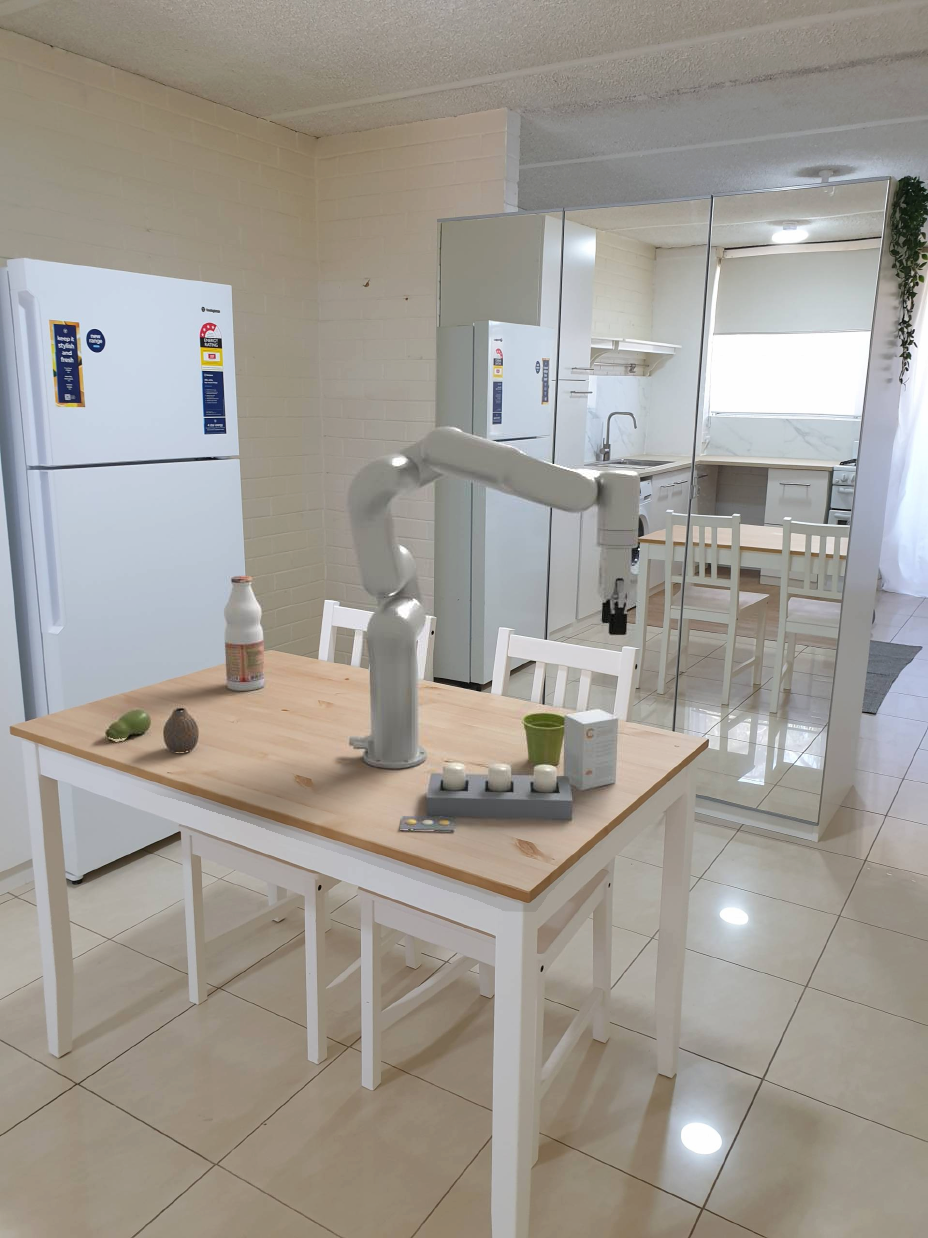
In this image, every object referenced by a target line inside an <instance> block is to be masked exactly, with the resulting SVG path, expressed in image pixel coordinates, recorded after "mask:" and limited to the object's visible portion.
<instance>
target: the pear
mask: <svg viewBox="0 0 928 1238" xmlns="http://www.w3.org/2000/svg"><path fill="white" fill-rule="evenodd" d="M151 725H152V721H151V717H150V715H149V714H148V712H146V711H145V710H143V709H140V708H139V709H138V708H137V709H132V710H130V711H128V712H126V713H124V714H123V715H122V716H120V718H119V719H118V720H117V721H114V722H112V723H111V724H110V725H109V726H108V728H107V729H106V730H105V732H104V733H105V737H107V738H108V737H110V738H113V739H119V738H120V739H122V738H126V737H128V738H129V736H130V735H140V734H139V733H142V734H144V733H143V732H145V731H146V732H147V731H149V729H150V727H151ZM146 732H145V733H146Z"/></svg>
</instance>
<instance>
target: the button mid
mask: <svg viewBox="0 0 928 1238" xmlns="http://www.w3.org/2000/svg"><path fill="white" fill-rule="evenodd" d="M487 769H488V772H487V775H488V788H489V789H490V790H493V791H507V790H509V789H510V788H511V775H512V767H511V765H508V764H505V763H493V764H490V765H489V766H488V768H487Z"/></svg>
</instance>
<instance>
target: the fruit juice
mask: <svg viewBox="0 0 928 1238" xmlns="http://www.w3.org/2000/svg"><path fill="white" fill-rule="evenodd" d="M230 578H231V579H230V582H231V584H232V588H231V592H230V595H229V597H228V601H227V603H226V605H225V607H224V610H223V616H224V620H225V622H226V626H225V629H224V650H225V652H224V653H225V671H226V674H225V675H226V686H227V688H228V689H230V690H231V691H235V692H236V691H237V692H248V691H255V690H259V689H261V688H263V687H265V684H266V676H265V673H266V671H265V650H264V649H265V647H264V645H265V644H264V630H263V627H262V625H261V619H262V614H263V613H262V612H263V611H262V607H261V605H260V604H259V602H258V601H257V598H256V596H255V594H254V591H253V588H252V586H251V585H252V580H253V579H252V576H249V575H235V576H232V577H230Z"/></svg>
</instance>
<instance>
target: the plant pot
mask: <svg viewBox="0 0 928 1238" xmlns="http://www.w3.org/2000/svg"><path fill="white" fill-rule="evenodd" d="M564 721H565V715H564V716H563V715H562V714H561V715H560V714H558V713H553V712H534V713H529V714H526V715H524V716H522V718H521V722H522V724H523V729H524V731H525V735H526V736H525V737H526V744H527V757H528V761H530V763H531V764H532V765H535V766H537V765H551V766H556V765H558V763H560V759H561V754H562V748H563V744H564Z"/></svg>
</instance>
